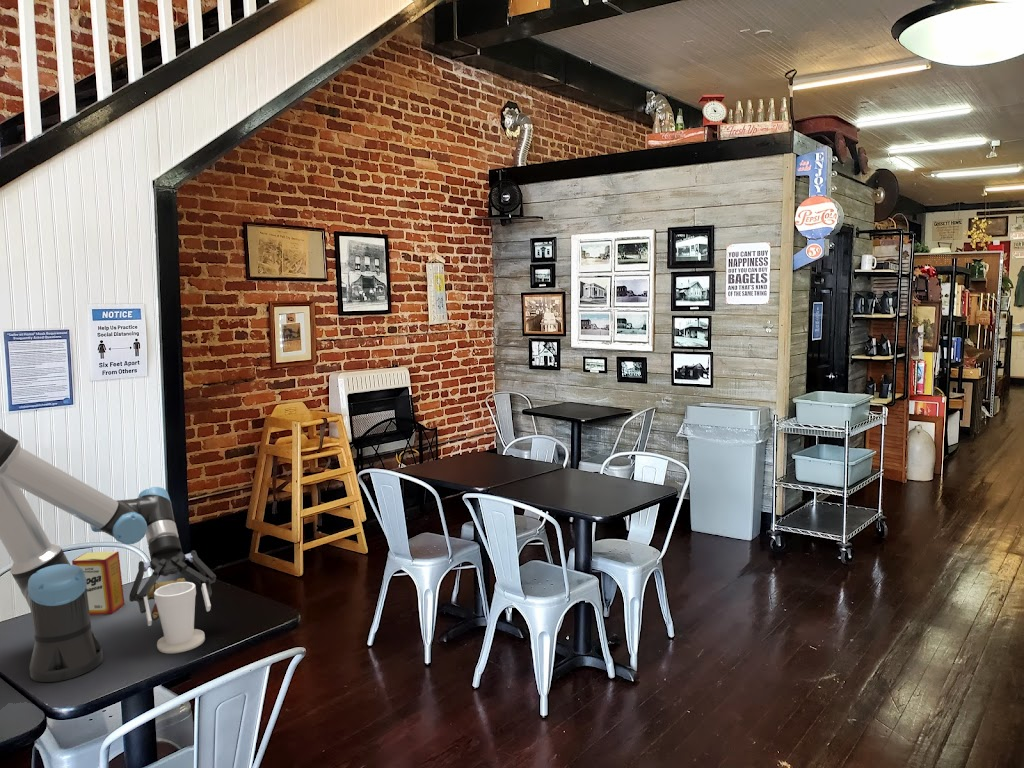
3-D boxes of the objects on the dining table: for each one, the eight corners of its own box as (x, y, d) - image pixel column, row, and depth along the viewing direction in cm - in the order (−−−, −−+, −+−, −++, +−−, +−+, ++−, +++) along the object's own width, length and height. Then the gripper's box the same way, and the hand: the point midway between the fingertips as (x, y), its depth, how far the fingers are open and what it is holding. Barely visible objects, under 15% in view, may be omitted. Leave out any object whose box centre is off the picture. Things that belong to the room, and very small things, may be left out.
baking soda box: (78, 615, 216) (71, 559, 214) (92, 605, 222) (85, 551, 220) (112, 614, 216) (105, 558, 214) (124, 604, 222) (118, 550, 220)
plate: (177, 656, 188) (176, 652, 188) (147, 648, 193) (147, 643, 193) (214, 638, 197) (214, 633, 197) (185, 630, 203) (184, 626, 202)
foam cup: (208, 634, 197) (203, 584, 195) (178, 649, 189) (173, 598, 187) (180, 628, 201) (176, 580, 199) (150, 643, 193) (145, 593, 191)
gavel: (173, 607, 211) (133, 612, 209) (175, 622, 212) (135, 628, 210) (185, 575, 231) (148, 580, 229) (186, 589, 232) (150, 594, 230)
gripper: (212, 539, 212) (230, 609, 202) (110, 559, 199) (123, 636, 188) (214, 524, 207) (233, 596, 196) (110, 544, 194) (124, 622, 183)
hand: (180, 616), depth 192 cm, fingers open, 13 cm apart
